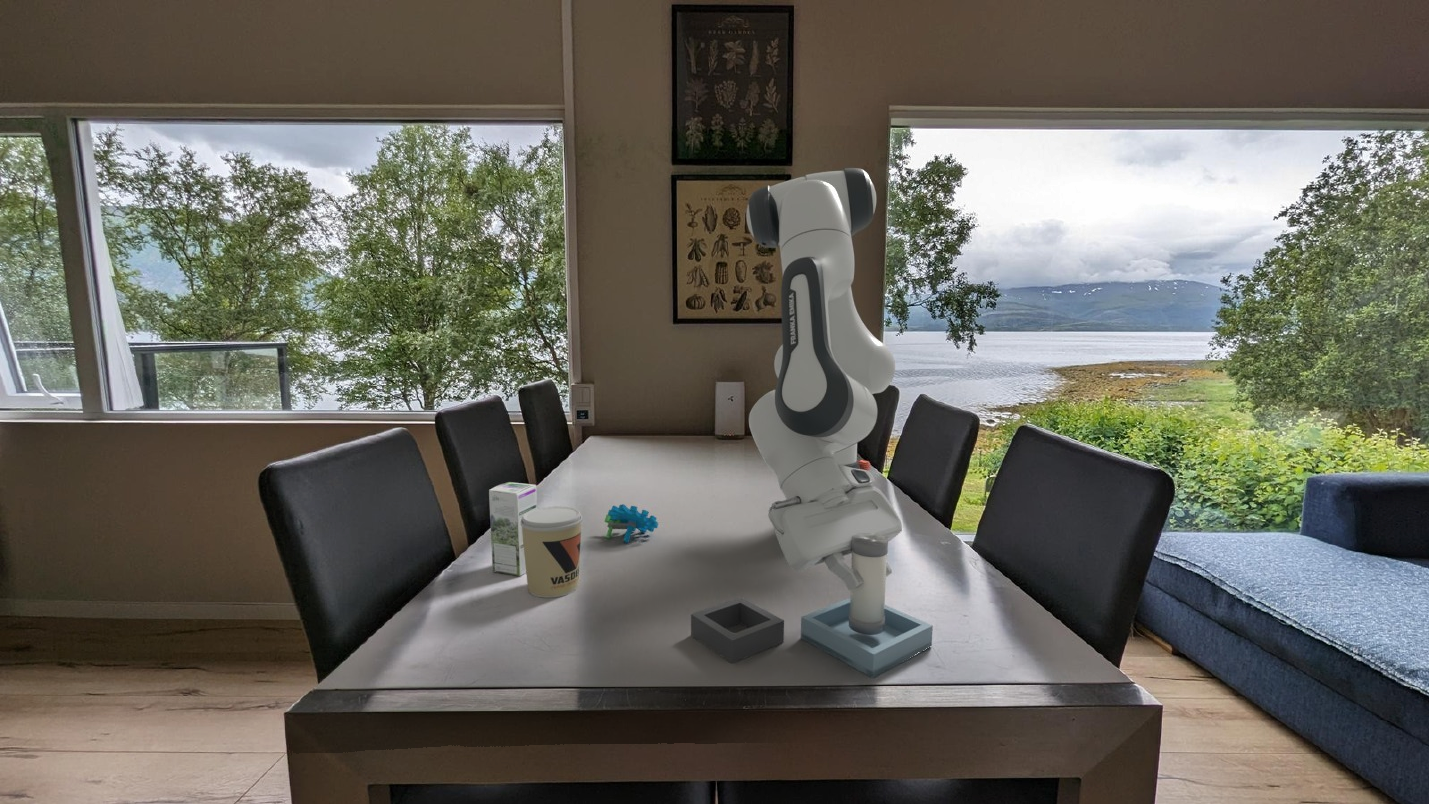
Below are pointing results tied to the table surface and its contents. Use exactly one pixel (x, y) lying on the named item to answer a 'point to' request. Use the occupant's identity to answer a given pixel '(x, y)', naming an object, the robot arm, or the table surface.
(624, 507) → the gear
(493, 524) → the syrup box
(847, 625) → the tray
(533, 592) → the cream lidded tub
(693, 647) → the table surface
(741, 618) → the socket
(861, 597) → the cylinder
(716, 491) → the table surface
